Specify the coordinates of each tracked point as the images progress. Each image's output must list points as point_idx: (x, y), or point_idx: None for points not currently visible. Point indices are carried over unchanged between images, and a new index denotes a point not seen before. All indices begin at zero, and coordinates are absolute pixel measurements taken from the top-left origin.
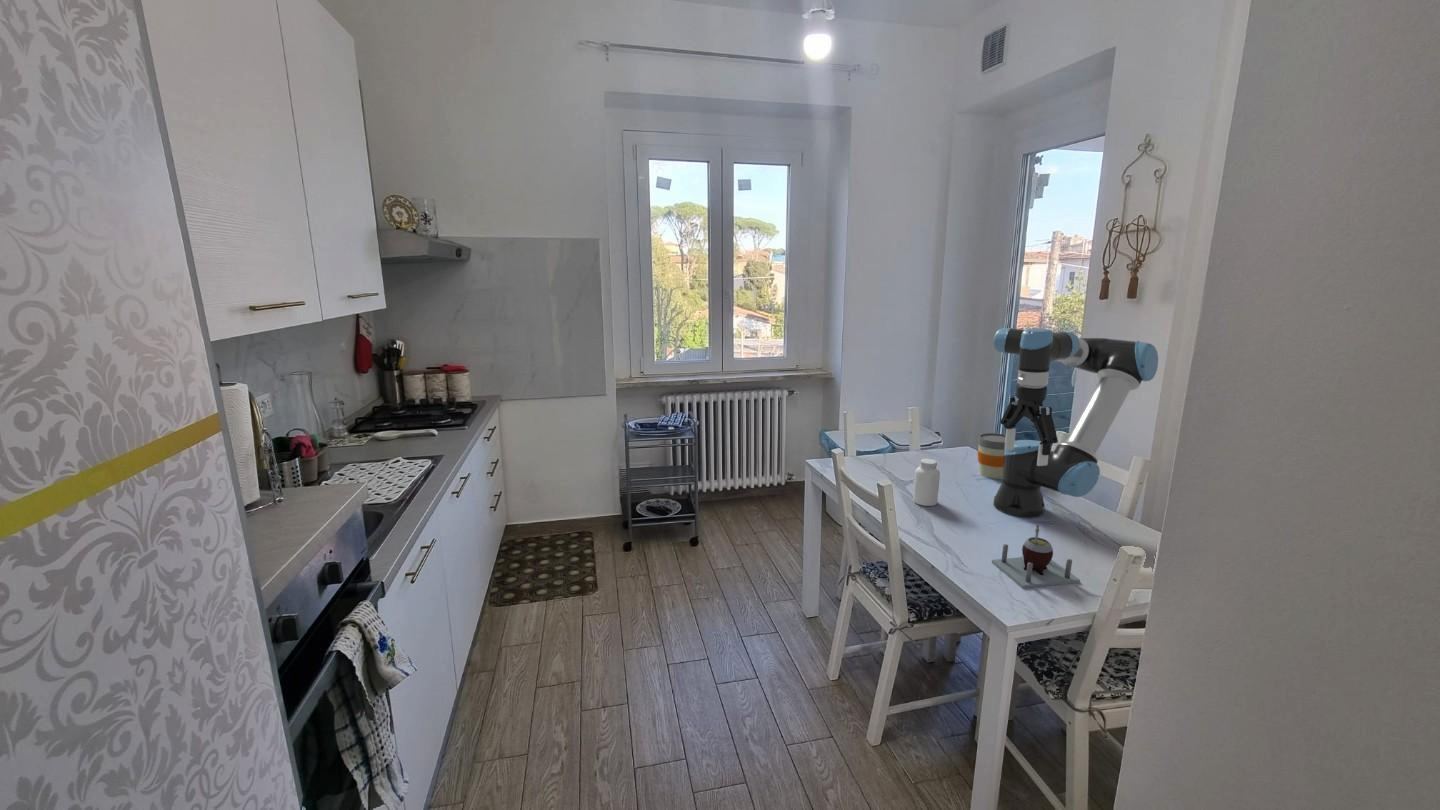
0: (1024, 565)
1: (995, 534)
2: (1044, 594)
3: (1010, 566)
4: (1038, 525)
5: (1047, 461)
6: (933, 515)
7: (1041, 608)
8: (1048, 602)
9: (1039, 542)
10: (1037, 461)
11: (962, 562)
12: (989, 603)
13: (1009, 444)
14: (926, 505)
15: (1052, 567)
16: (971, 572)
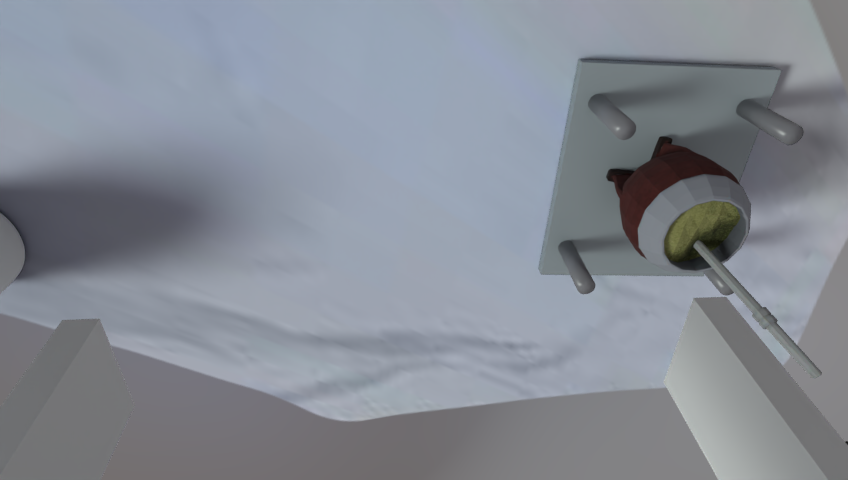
0: (614, 197)
1: (337, 126)
2: (754, 232)
3: (600, 245)
4: (820, 373)
5: (752, 333)
6: (129, 269)
7: (794, 283)
8: (788, 248)
9: (700, 227)
10: (688, 417)
11: (507, 343)
12: None
13: (90, 442)
14: (24, 259)
15: (669, 108)
16: (566, 348)
